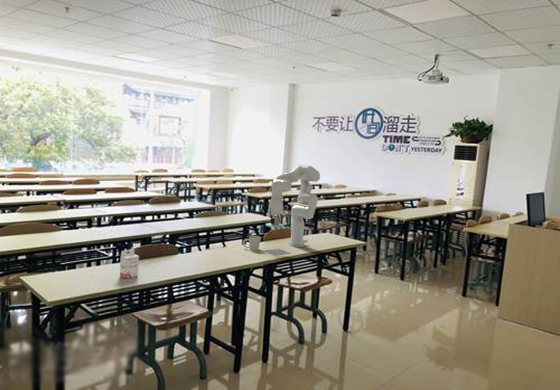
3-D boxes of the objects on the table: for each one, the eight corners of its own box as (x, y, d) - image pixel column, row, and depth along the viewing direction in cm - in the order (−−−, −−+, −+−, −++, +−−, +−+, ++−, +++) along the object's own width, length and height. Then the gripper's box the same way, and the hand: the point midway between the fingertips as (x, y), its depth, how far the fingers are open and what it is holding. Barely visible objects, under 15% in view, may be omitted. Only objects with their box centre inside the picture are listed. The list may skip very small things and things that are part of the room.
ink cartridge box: (124, 279, 241) (125, 252, 239) (119, 277, 244) (120, 250, 242) (138, 276, 247) (139, 250, 246) (133, 274, 250) (134, 248, 249)
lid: (276, 223, 326) (277, 215, 325) (287, 227, 315) (288, 218, 315) (262, 224, 318) (262, 216, 317) (272, 228, 307) (273, 219, 307)
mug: (259, 252, 318) (260, 238, 317) (241, 251, 318) (242, 237, 317) (260, 249, 326) (260, 236, 325) (243, 248, 326) (243, 235, 325)
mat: (279, 250, 329) (279, 248, 329) (291, 254, 317) (291, 253, 317) (262, 251, 320) (262, 250, 320) (274, 256, 308) (274, 255, 308)
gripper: (282, 197, 322) (281, 222, 324) (263, 197, 312) (262, 223, 314) (289, 198, 316) (287, 224, 318) (270, 199, 306) (268, 225, 308)
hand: (275, 223), depth 316 cm, fingers closed on lid, 4 cm apart
